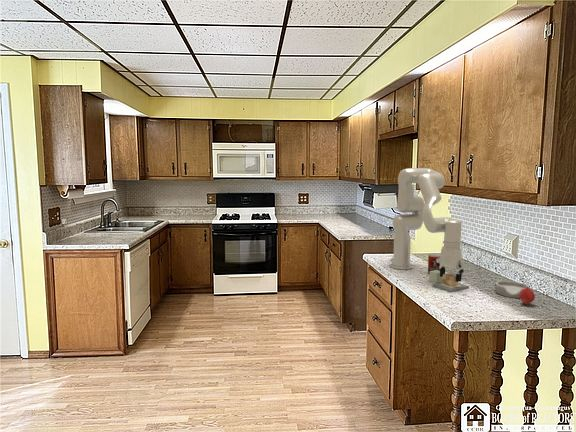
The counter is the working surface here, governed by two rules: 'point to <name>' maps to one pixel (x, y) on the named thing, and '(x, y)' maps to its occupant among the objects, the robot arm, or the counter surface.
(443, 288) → the build board
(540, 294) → the counter surface
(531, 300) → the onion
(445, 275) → the oak block
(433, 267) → the canned food
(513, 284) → the dish
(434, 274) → the sage block
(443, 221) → the robot arm
